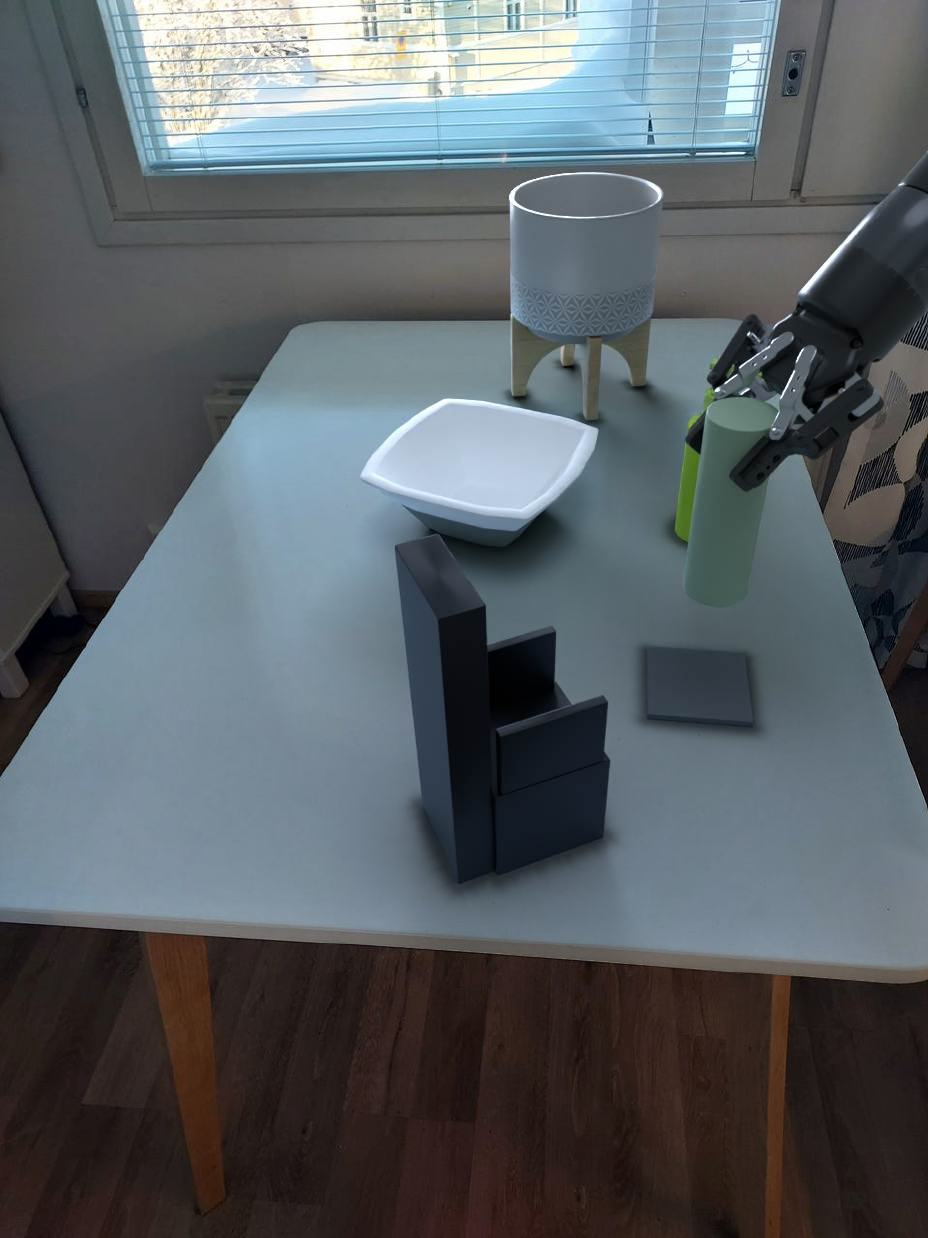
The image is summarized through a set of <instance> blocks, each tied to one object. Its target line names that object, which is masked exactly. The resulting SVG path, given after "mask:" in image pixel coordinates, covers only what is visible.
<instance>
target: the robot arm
mask: <svg viewBox="0 0 928 1238" xmlns="http://www.w3.org/2000/svg"><path fill="white" fill-rule="evenodd" d="M796 302H797V303H796V306H795V309H794V310H793V312H792V313H790V314H789V315H788V316H787V317H785V318H783V319H782V320H780V321H778V322H776V324H771V323H768V322H763V321H762V320H761V319H760V318H759V317H758V315H756V314H755V313H752V314H749V315H747V316H746V317H744V319H743V320H742V322H741V323H740V325H739V327H738V328H737V330H736V331H735V333H734V334H733V336H732V337H731V339H730V340H729V342H728V344H727V345H726V347H725V348H724V350H723V351H722V352H721V354H720V356H718V357H719V359H718V360H717V362H716V363H715V365H714V366H713V368H712V369H710V370H709V372H708V374H707V376H706V380H707V383H708V384H709V385H710V386H711V387H712V388H713V390H714V392H715V393H714V396H715V398H714V400H713V402H712V403H714V402H716V401H718V400H721V399H725V398H732V397H745V398H753V399H757V400H761V401H764V402H767V401H769V400H771V399H772V398H773V397H775V396H776V395H779V396H780V398H779V401H778V407H779V410H778V411H779V413H778V415H777V417H776V419H775V421H774V423H773V425H772V427H771V429H770V431H769V438H766V437H765V436H763V437H762V438H761V439H760V440H759V441H758V442H757V443H756V444H755V445H754V446H753V448H752V449H751V450H750V451H749V452H748V453H747V454H746V455H745V456H744V457H743V459H742V460H741V461H740V462H739V463H738V464H737V465H736V466H735V467H734V468H733V470H732V471H731V472H730V474H729V478H730V479H731V480H732V481H733V482H734V483H735V484H736V485H737V486H739V487H740V488H741V489H742V490H743V491H745V492H748V491H750V490H752V489H753V488H757V487H758V486H760V485H761V484H762V483H763V482H764V481H765V480H766V479H767V478H768V477H769V478H770V476H771V475H772V474H773V473H774V472H775V470H777V469H778V467H779V466H780V465H781V464H782V463H783V462H784V461H785V460H786V459H787V458H788V457H789V456H794V455H799V456H804V457H806V458H807V459H809V460H811V461H815V460H819V459H820V458H821V457H822V456H823V455H825V454H826V453H827V452H829V451H830V450H831V449H833V448H834V447H835V446H837V444H839V443H840V442H842V441H843V440H844V439H845V438H847V437H848V436H850V435H851V434H852V433H853V432H854V431H855V430H856V429H858V428H859V427H861V426H862V425H863V424H864V423H866V422H867V421H869V420H870V419H871V418H872V417H873V416H874V415H876V414H878V413H879V412H880V411H881V410H882V409H883V408H884V406H885V399H884V398H883V397H882V396H881V395H880V393H879V392H878V391H877V389H876V388H875V387H874V385H873V384H872V383H871V382H870V381H869V379H867V378H864V377H865V374H866V372H867V369H868V367H869V366H870V364H875V363H879V362H881V361H882V360H884V359H885V357H886V356H888V354H889V353H890V352H891V351H892V350H893V349H894V348H895V347H896V346H897V345H898V343H899V342H900V341H901V340H903V338H904V337H905V336H906V335H907V334H908V332H910V331H911V329H912V328H913V327H914V326H915V325H916V324H917V323H918V322H919V321H920V320H921V319H922V318H923V317H924V316H925V315H926V313H927V312H928V150H927V151H926V152H925V154H924V155H923V156H922V157H921V158H920V159H919V160H918V162H917V163H915V165H914V166H913V167H912V168H911V169H910V171H909V172H908V173H907V174H906V175H905V177H903V179H902V180H901V181H900V182H899V183H898V184H897V186H895V188H894V189H893V190H892V191H891V192H890V193H889V194H888V195H887V196H886V197H884V199H882V201H880V202H879V203H878V204H877V205H876V206H875V207H874V208H873V209H872V210H870V211H869V213H868V214H866V216H864V217H863V219H862V220H861V221H860V222H859V223H858V224H857V225H856V227H855V228H854V229H853V230H852V231H851V233H849V235H848V236H847V237H846V238H845V240H843V241H842V243H841V244H840V245H839V246H838V247H837V248H836V250H835V251H834V252H833V253H832V254H831V255H830V256H829V257H828V259H827V260H826V261H825V262H824V263H823V264H822V266H821V267H819V269H818V270H817V271H816V272H815V273H814V274H813V276H812V277H811V278H810V279H809V280H808V282H806V284H805V285H804V286H803V287H802V288H801V289H800V290H799V292H798V294H797V301H796ZM733 364H734V369H733V370H732V372H731V373H730V375H729V376H728V377H727V376H726V375H727V373H728V371H729V370H730V368H731V367H732V365H733ZM760 372H762V376H761V378H762V379H760V378H759V377H758V376H757V375H758V374H759V373H760ZM745 389H746V390H745ZM743 390H744V391H743ZM741 391H743V392H741ZM738 392H739V394H738ZM740 392H741V393H740ZM834 396H836V397H835V398H834V399H833V400H831V401H830V399H831V398H832V397H834ZM829 401H830V402H829ZM712 403H711V404H712ZM711 404H710V405H711ZM710 405H709V406H710ZM709 406H708V407H709ZM708 407H707V408H708ZM706 411H707V409H706V410H705V411H704V412H703V413H702V412H701V413H702V414H701V415H700V417H699V418H698V419H697V420H696V422H694V423H693V424H692V426H691V427H690V429H689V431H688V433H687V432H686V436H685V437H684V442H685V444H686V443H687V444H688V445H689V446H690V447H691V448H692V449H693V450H695V451H696V452H697V453H698V454H699V455H700V454H701V447H702V440H703V432H704V425H705V418H706Z"/></svg>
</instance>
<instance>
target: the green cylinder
mask: <svg viewBox="0 0 928 1238" xmlns="http://www.w3.org/2000/svg"><path fill="white" fill-rule="evenodd" d="M778 413H779V410H778V408H777V407H775V406H774V405H773V404H771V403H769V402H767V401H761V400H757V399H753V398H745V397H732V398H725V399H721V400H718V401H716V402H714V403H712V404H711V405H710V406H709V407H708V408H707V411H706V418H705V425H704V432H703V440H702V447H701V454H700V462H699V469H698V476H697V484H696V491H695V498H694V506H693V513H692V520H691V528H690V535H689V542H687V551H686V557H685V558H686V559H685V564H684V565H685V566H684V572H683V579H682V581H683V582H682V588H683V591H684V593H685V594H686V595H687V597H688V598H690V599H691V600H692V601H694V602H696V603H697V604H700V605H703V606H706V607H712V608H728V607H732V606H735V605H738V604H739V603H741V602H742V601H743V600H744V599H745V598H746V596H747V594H748V589H749V584H750V578H751V574H752V568H753V564H754V563H753V562H754V557H755V553H756V547H757V542H758V537H759V533H760V526H761V523H762V518H763V511H764V507H765V506H764V505H765V501H766V496H767V491H768V486H769V480H770V476H769V477H768V478H767V479H766V480H765V481H764V482H763V483H762V484H761V485H760V486H758V487H757V488H753V489H752V490H750V491H748V492H745V491H743V490H742V489H741V488H740V487H739V486H737V485H736V484H735V483H734V482H733V481H732V480H731V479H730V478H729V474H730V472H731V471H732V470H733V468H734V467H735V466H736V465H737V464H738V463H739V462H740V461H741V460H742V459H743V457H744V456H745V455H746V454H747V453H748V452H749V451H750V450H751V449H752V448H753V446H754V445H755V444H756V443H757V442H758V441H759V440H760V439H761V438H762V437H763V436H765V437H766V438H769V431H770V429H771V427H772V425H773V423H774V421H775V419H776V417H777V415H778Z"/></svg>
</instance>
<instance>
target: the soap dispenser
mask: <svg viewBox="0 0 928 1238" xmlns="http://www.w3.org/2000/svg"><path fill="white" fill-rule="evenodd" d="M719 357H720V356H715V358H714V359H713V360H712V361H711V362H710V363H709V367H708V370H711V369H712V368H713V366H714V365H715V363H716V362H717V360H718V359H719ZM733 369H734V364H733V365H732V367H731V368H730V370H729V371H728V373H727V375H726V376H727V377H728V376H729V375H730V373H731V372H732V370H733ZM757 376H758V377H759V378H760V379H761V380H763V379H762V378H761V376H762V372H760V373H759V374H758V375H757ZM714 393H715V392H714V390H713V388H712V386H711V387H708V388H707V389H705V391H704V397H703V405H702V409H701V410H702V411H701V412H700V413H697V414H695V415H693V416H691V417H690V419H689V420H688V422H687V429H686V434H687V433H688V431H689V429H690V427H691V426H692V424H693V423H694V422H696V420H697V419H698V418H699V417H700V415H701V414H702V413H703V412H704V411H705V410H706V409H707V407H708V406H709V405H710V404H711V403H712V402H713V400H714V398H715V396H714ZM738 394H739V395H740V392H738ZM699 462H700V455H699V454H698V453H697V452H696V451H695V450H693V449H692V448H691V447H690V446H689V445H688V444H687V443H686V442H685V445H684V453H683V460H682V469H681V476H680V484H679V491H678V499H677V507H676V508H677V509H676V515H675V521H674V532H675V534H676V536H678V537H679V538H680V539H681V540H683V541H684V542H686V543H688V542H689V535H690V528H691V520H692V513H693V506H694V498H695V491H696V484H697V476H698V469H699Z"/></svg>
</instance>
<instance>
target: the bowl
mask: <svg viewBox="0 0 928 1238" xmlns="http://www.w3.org/2000/svg"><path fill="white" fill-rule="evenodd" d="M599 431H600V430H599V429H598V428H596V427H594V426H592V425H588V424H585V423H582V422H580V421H578V420H575V419H571V418H568V417H565V416H561V415H555V414H550V413H545V412H542V411H541V412H540V411H536V410H530V409H525V408H521V407H516V406H511V405H506V404H501V403H494V402H490V401H484V400H476V399H461V398H443V399H441V400H439V401H438V402H435V404H433V405H431V406H429V407H427V408H424V409H423V410H422V411H419V413H417V414H416V415H414V416H413V417H412V418H410V419H409V420H408V421H406V422H405V423H404V424H402V425H401V426H399V427H398V428H397V429H396V430H394V431H393V432H392V433H390V435H389V436H388V438H387V439H386V440H385V441H384V442H383V443H382V444H381V445H380V446H379V447H378V448H377V449H376V450H375V452H373V454H372V455H371V456H370V457H369V459H368V460H367V462H366V464H365V466H364V468H363V469H362V471H361V473H360V475H359V480H360V481H362V482H363V483H365V484H366V485H368V486H369V487H372V488H373V489H375V490H376V491H377V492H379V493H381V494H382V495H384V496H386V497H387V498H389V499H391V500H392V501H394V502H396V503H398V504H399V505H401V506H402V507H403V508H404V509H406V510H407V511H408V512H409V513H410V514H412V515H413V516H414V517H415V518H416V519H418V520H419V521H420V522H421V523H423V524H424V525H425V526H426V527H428V528H429V529H430V530H434V531H435V532H437V533H438V534H441V535H444V536H448V537H452V538H455V539H459V540H463V541H465V542H470V543H475V544H478V545H482V546H487V547H488V546H490V547H499V548H504V547H506V546H508V545H510V544H511V543H512V542H514V541H515V540H516V539H518V538H519V537H520V536H521V535H522V534H523V533H524V532H525V530H526V529H528V527H529V526H531V524H532V523H533V522H534V521H535V520H536V518H537V517H538V516H539V515H540V514H541V513H542V512H544V511H546V509H547V508H548V507H550V506H551V505H552V504H554V503H555V502H556V501H557V500H558V499H559V498H560V497H561V495H563V494H564V493H565V491H567V489H568V488H570V487H571V485H572V484H573V483H574V482H575V481H576V480H578V478H579V477H580V476H581V474H582V473H583V471H584V469H585V467H586V465H587V464H588V462H589V460H590V458H591V457H592V455H593V453H594V451H595V448H596V445H597V444H596V443H597V440H598V435H599Z"/></svg>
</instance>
